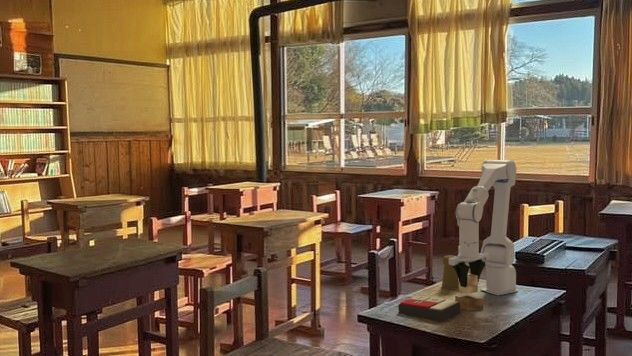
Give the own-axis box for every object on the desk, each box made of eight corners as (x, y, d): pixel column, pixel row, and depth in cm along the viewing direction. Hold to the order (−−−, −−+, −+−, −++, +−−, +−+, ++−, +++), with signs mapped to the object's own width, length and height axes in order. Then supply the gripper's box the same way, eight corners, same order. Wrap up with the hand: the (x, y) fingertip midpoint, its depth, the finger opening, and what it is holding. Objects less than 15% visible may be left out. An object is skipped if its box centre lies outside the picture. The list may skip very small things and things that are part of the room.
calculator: (417, 294, 190) (460, 299, 180) (417, 307, 190) (461, 313, 180) (397, 302, 182) (441, 308, 172) (398, 316, 182) (442, 323, 172)
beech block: (468, 289, 189) (468, 273, 188) (477, 291, 185) (477, 275, 185) (458, 290, 187) (458, 274, 186) (467, 293, 183) (467, 277, 183)
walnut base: (471, 304, 190) (471, 293, 190) (483, 309, 184) (483, 297, 184) (455, 306, 188) (455, 295, 187) (467, 311, 182) (466, 300, 182)
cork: (462, 286, 210) (462, 255, 209) (453, 290, 205) (453, 258, 204) (447, 284, 214) (447, 253, 213) (438, 287, 209) (438, 256, 209)
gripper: (477, 237, 191) (477, 279, 192) (441, 242, 184) (442, 286, 185) (493, 240, 185) (493, 284, 186) (457, 245, 178) (457, 291, 179)
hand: (469, 285), depth 185 cm, fingers closed on beech block, 4 cm apart
